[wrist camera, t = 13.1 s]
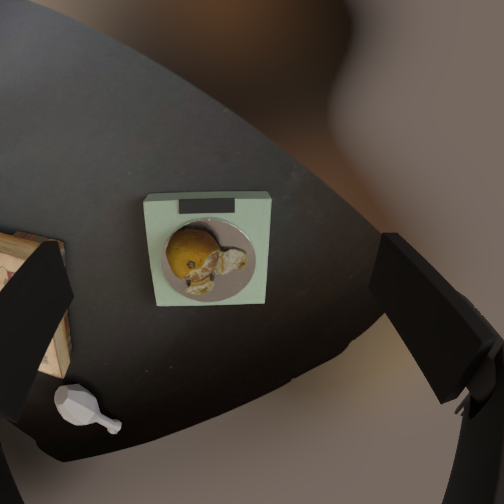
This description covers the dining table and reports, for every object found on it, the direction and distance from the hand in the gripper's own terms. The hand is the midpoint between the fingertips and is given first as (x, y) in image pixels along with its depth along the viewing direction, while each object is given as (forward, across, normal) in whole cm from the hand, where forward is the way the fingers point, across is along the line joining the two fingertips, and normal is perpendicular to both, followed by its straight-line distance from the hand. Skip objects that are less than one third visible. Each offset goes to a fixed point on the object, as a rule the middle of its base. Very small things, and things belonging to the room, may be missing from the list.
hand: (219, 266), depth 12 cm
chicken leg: (+24, -27, -47) cm, 59 cm away
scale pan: (+21, -1, -12) cm, 24 cm away
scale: (+24, -1, -12) cm, 27 cm away
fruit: (+21, -2, -12) cm, 24 cm away
